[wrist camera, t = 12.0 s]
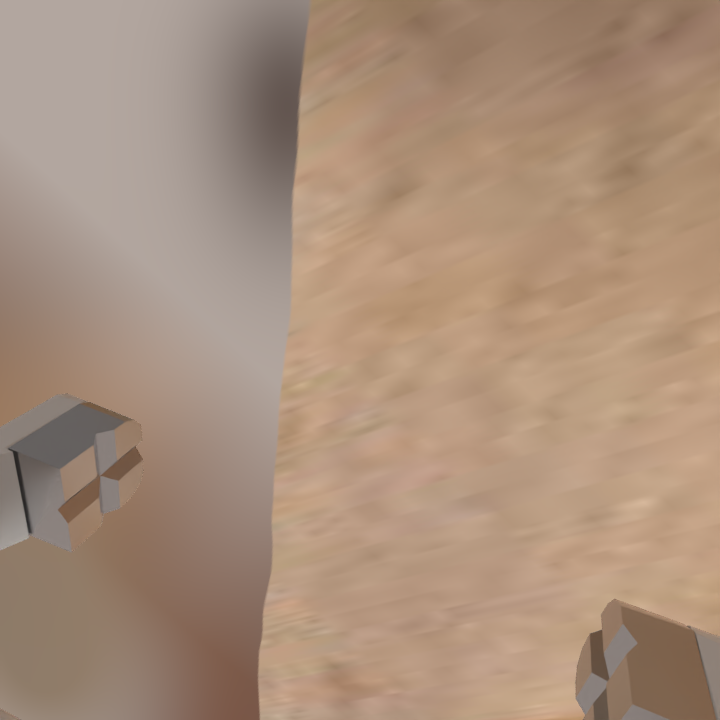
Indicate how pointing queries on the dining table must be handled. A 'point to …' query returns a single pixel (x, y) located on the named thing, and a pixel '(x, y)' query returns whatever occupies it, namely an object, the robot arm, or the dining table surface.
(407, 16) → the dining table surface
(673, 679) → the robot arm
